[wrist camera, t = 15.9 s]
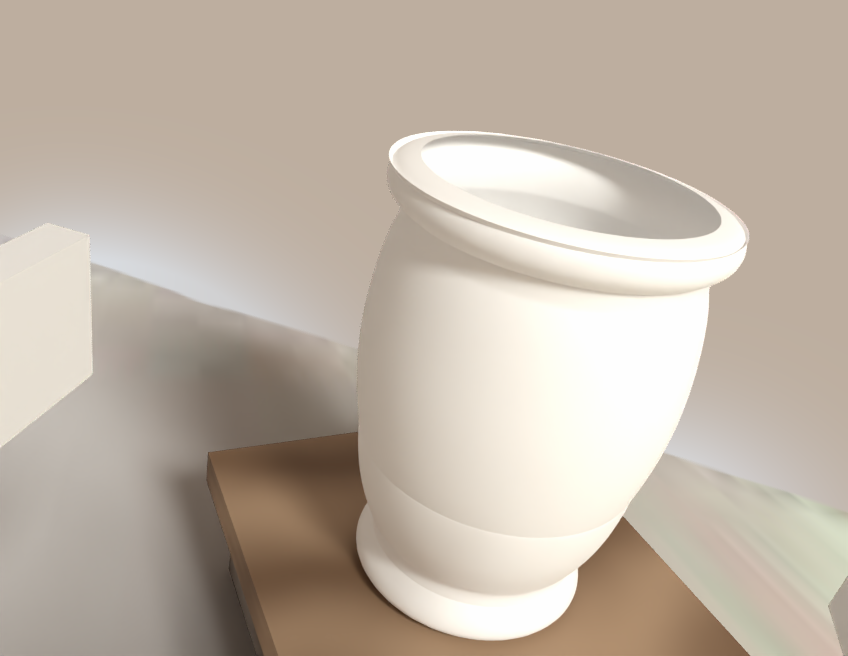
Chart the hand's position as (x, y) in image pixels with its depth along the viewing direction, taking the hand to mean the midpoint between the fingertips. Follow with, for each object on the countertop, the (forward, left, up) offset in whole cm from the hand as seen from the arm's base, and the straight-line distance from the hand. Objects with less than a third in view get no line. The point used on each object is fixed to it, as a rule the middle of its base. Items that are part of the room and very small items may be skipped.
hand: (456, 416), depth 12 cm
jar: (-9, +8, -14) cm, 19 cm away
